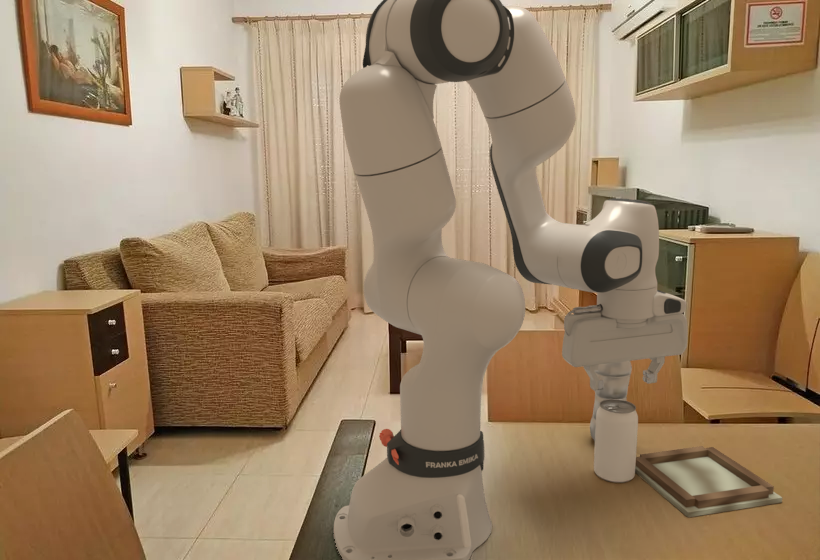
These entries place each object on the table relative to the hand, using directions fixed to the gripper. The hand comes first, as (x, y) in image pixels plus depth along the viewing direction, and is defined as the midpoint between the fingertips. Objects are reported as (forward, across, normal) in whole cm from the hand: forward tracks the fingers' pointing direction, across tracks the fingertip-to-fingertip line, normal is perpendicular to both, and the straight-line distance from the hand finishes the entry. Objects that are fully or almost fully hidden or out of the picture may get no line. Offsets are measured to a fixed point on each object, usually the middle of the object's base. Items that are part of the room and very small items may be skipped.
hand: (623, 385), depth 100 cm
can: (+15, -1, 0) cm, 15 cm away
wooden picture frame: (+15, +10, -6) cm, 20 cm away
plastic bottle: (+16, +4, +10) cm, 19 cm away
